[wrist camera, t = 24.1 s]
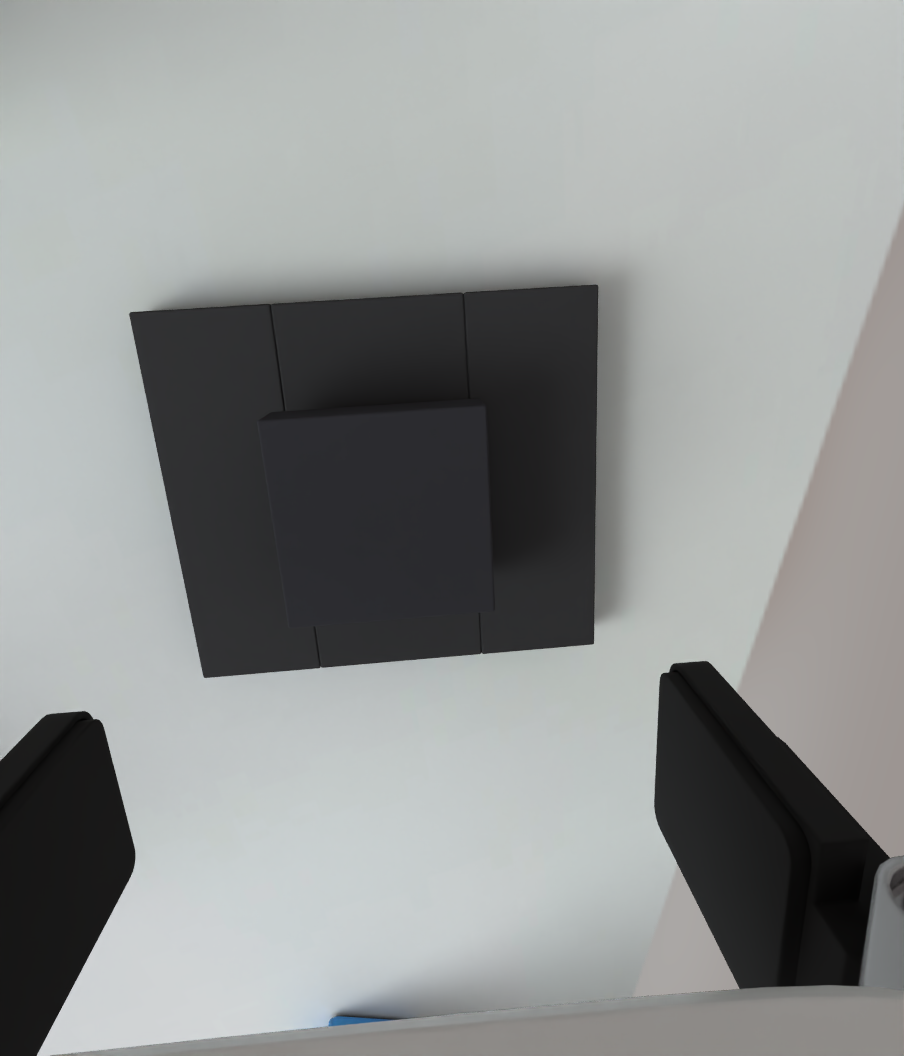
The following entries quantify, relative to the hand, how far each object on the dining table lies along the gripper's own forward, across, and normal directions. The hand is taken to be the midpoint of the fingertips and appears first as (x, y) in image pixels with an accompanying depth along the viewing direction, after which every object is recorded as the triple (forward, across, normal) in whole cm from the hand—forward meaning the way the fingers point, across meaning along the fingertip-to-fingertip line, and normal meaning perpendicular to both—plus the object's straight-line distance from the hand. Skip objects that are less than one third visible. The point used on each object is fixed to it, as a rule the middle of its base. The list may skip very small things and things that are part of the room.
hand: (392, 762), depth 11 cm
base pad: (+16, +1, -1) cm, 16 cm away
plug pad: (+16, +1, -1) cm, 16 cm away
